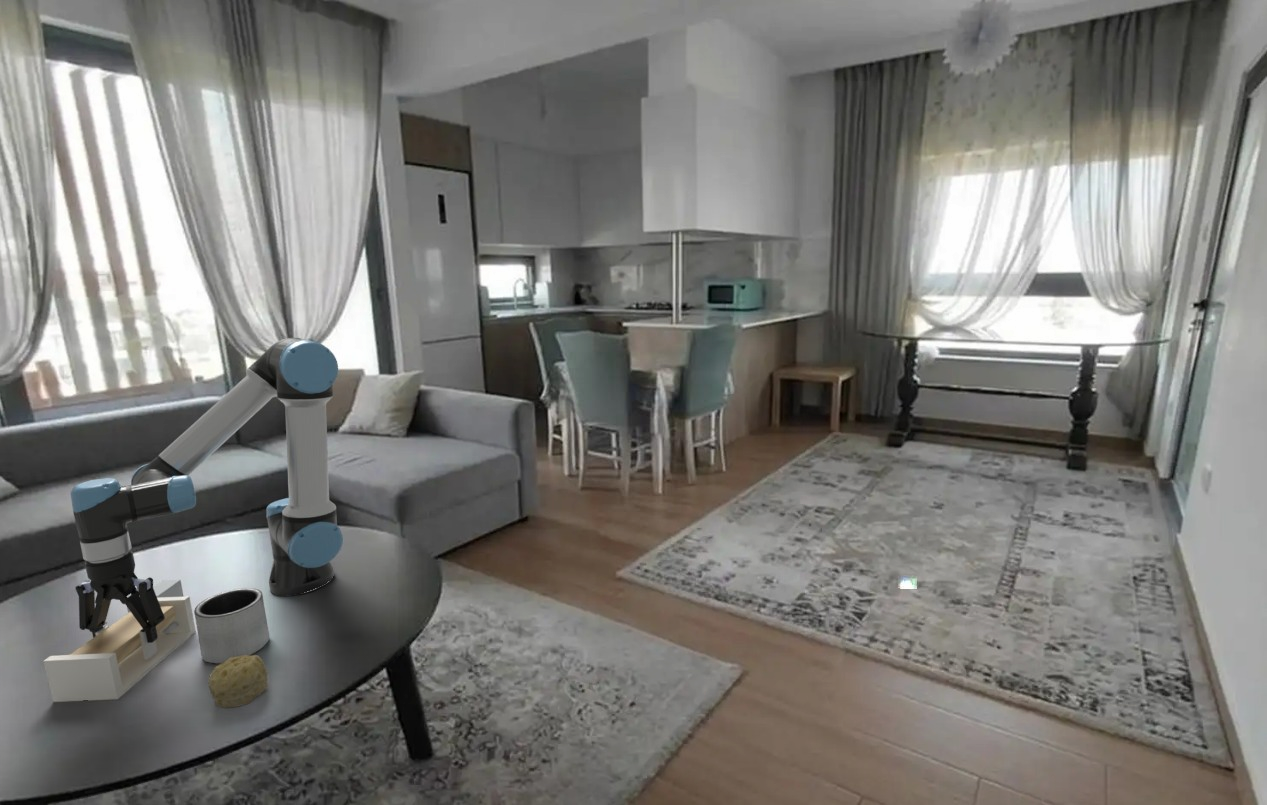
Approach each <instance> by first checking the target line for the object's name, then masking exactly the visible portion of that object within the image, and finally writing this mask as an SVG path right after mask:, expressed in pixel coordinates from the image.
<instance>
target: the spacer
mask: <svg viewBox="0 0 1267 805" xmlns="http://www.w3.org/2000/svg"><path fill="white" fill-rule="evenodd" d="M153 589H154V591H155V594H156V596H157V598H161V597H185V596H184V592H183V586H182V581H181V579H165V580H161V581H159V582H158V583H156V584H155V585H153ZM126 608H127V614H128V613H129V612H131V611H130V610H129V609H128V607H127V606H126Z"/></svg>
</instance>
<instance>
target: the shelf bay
mask: <svg viewBox="0 0 1267 805" xmlns="http://www.w3.org/2000/svg"><path fill="white" fill-rule="evenodd" d="M157 599H158V602H159V604H160V607H163V606H173V607H174V612H175V617H176V619H174V620H173V621H172V622H171V623H169V624H168V625H167V626H165V627H164V628H163V629H162V630H160V631H159V632H158V633H157V635H158V637H157V639H156V640H155V642H156V647H157V652H156V653H155V654H154V655H153V656H152V657H150V658H149V659H144V654H143V649H142V646H140V647H139V648H138V649H137V650H135V651H134V652H133V653H132V654H130V655H129V656H128V657H126V658H125V659H124V660H123V661H121V662H120V663H119V664H118V663H117V658H116V653H103V654H81V655H70V654H64V655H63V654H62V655H49V656H48V657H46V659H44V660H43V665H44V668H45V673H46V678H47V682H48V687H49V690H50V694H51V698H52V699H51V700H52V702H53V703H66V702H81V701H83V700H88V701H105V700H119V699H121V697H122V696H123V695H124V694H125V693H126V692H128V691H129V690H130V689H131V688H133V686H135V685H136V684H137V683H138V682H140V681H141V680H142V679H143V678H144V677H145V676H146V675H148V673H150V672H151V671H152V670H154V668H156V667H157V666H158V665H159V664H160V663H161V662H162V661H164V660H165V659H166V658H167V657H169V655H170V654H172V653H173V652H174V651H175V650H176V649H178V648H179V647H180V646H181V645H182V644H183V643H184V642H185V641H187V640H188V639H189V638H191V637H192V635H193V634H195V633H196V631H197V630H196V626H195V624H196V623H195V621H194V620H195V619H194V614H193V609H192V602H191V597H190V595H189V596H187V595H186V596H184V597H161V598H157ZM83 702H84V701H83Z"/></svg>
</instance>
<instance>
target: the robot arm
mask: <svg viewBox="0 0 1267 805" xmlns="http://www.w3.org/2000/svg"><path fill="white" fill-rule="evenodd" d="M338 375H339V364H338V360H337V357H336V356H335V354H334V353H333V352H332V351H331V350H330V348H328V347H327V346H325V345H324V344H322V343H321V342H318V341H316V340H313V339H304V338H300V337H287V338H283V339H280V340H278V341H276V342H274V344H272V345H271V346H270V347H269V348H268V349H267V350H265V352H264V353H262V354H261V355H260V356H259V357H258V358H257V359H256V360H255V361H254V362H253V363H252V364H251V365H250V366H249V367H248V368H247V369H246V376H244V377H243V379H241V380H240V381H239V382H238V383H237V384H236V385H234V386H233V388H231V389H230V390H229V391H228V392H226V394H225V395H223V397H221V398H220V399H219V400H218V401H217V402H216V403H214V404H213V405H212V406H211V407H210V408H209V409H208V410H206V412H205V413H203V414H202V415H201V416H200V417H199V418H198V419H197V420H196V421H195V422H194V423H193V424H191V425H190V426H189V427H188V428H187V429H186V430H185V431H183V433H182V434H180V435H179V436H178V437H177V438H176V439H175V440H174V441H173V442H171V443H170V444H169V445H168V446H166V448H164V450H163V451H162V452H160V453H159V454H158V455H157V456H156V457H155V458H154V459H152V460H151V461H150V462H149V463H146V464H143V465H142V466H139V467H138V468H137V469H136V470H134V472H133V474H132V476H131V481H130V485H123V486H121V484H120V483H119V480H117V479H116V478H113V477H108V478H107V477H106V478H99V479H91V480H87V481H85V482H84V481H83V482H81V483H78V484H77V485H75V486H73V488H72V489H71V490H70V498H71V499H70V500H71V506H72V513H73V518H74V521H75V525H76V526H75V527H76V530H77V533H78V537H79V543H80V548H81V553H82V558H83V560H84V561H85V563H84V567H85V571H86V575H87V579H86V580H84V581H83V582H81V583H80V584H77V585H76V586H75V591H76V593H77V596H78V613H79V614H78V618H79V619H78V620H79V621H78V622H79V625H78V626H79V629H80V631H81V630H82V631H85V630H89V632H90V633H92V639H93V638H94V637H95V636H97V635H98V634H100V633H101V632H103V631H104V630H105V629H107V628H108V627H110V625H106V624H107V623H108V621H107V622H106V620H107V617H108V614H109V610H110V606H111V602H112V600H116V601H118V600H119V601H120V602H121V604H123V605H125V606H126V608H127V607H128V609H129V610H130V611H131V613H132V614H133V616H134V617H135V618H136V620H137V621H138V623H139V624H140V625H141V627H142V629H141V630H140V631H139V634H140V639H141V644H142V649H143V654H144V659H149V658H150V657H152V656H153V655H154V654H155V653H156V652H157V647H156V642H155V640H156V639H157V637H158V635H157V630H156V626H157V625H158V624H159V623H161V622H162V621H163V620H164V619H165V617H164V614H163V612H162V609H161V607H160V604H159V602H158V599H157V596H156V594H155V591H154V589H153V587H154V579H153V578H152V577H148V578H145V579H144V578H143V579H142V578H138V576H137V575H136V573H135V568H136V562H135V556H134V552H133V551H132V543H131V539H130V533H129V527H128V524H129V523H133V522H137V521H138V522H139V521H143V520H146V519H147V520H148V519H152V518H157V517H161V516H166V515H170V514H178V513H180V512H184V511H187V510H191V509H194V507H195V506H196V505H197V496H196V490H195V486H194V483H193V480H192V478H191V476H190V475H191V474H192V473H193V472H194V471H195V470H197V469H198V468H199V467H200V466H201V465H202V464H203V463H204V462H205V461H206V460H207V459H208V458H209V457H211V456H212V455H213V453H215V452H216V451H217V450H218V449H219V448H220V447H221V446H223V445H224V443H225V442H227V441H228V440H229V439H230V438H232V436H233V435H234V434H235V433H236V432H237V431H239V429H241V428H242V427H243V426H244V425H245V424H246V423H247V422H248V421H249V420H250V419H251V418H253V416H255V415H256V413H258V412H259V411H260V410H261V409H262V408H264V406H266V404H267V403H269V402H270V401H271V399H273V398H276V399H277V400H279V401H280V402H281V403H283V405H284V408H285V431H286V434H285V435H286V436H285V439H286V459H287V461H286V462H287V485H288V486H287V487H288V497H286V498H282V499H278V500H275V501H273V502H271V503H269V504H268V505H267V507H266V516H265V517H266V518H265V519H267V525H268V531H269V538H270V539H269V540H270V545H271V552H272V559H273V561H272V566H271V571H270V573H269V574H270V575H269V579H268V587H269V591H270V592H271V593H272V594H274V595H276V596H281V595H284V596H286V595H291V596H296V595H295V594H299V595H302V594H301V593H304V592H307V591H310V590H313V589H315V588H318V587H320V586H322V585H324V584H326V583H327V582H328V581H330V580H331V579H332V577H333V576H334V577H335V570H334V566H333V564H332V561H333V560H334V559H335V557H336V556H338V554H339V553H340V551H341V549H342V547H343V544H344V536H343V533H342V530H341V528H340V527H339V526H338V522H337V518H338V517H337V506H336V504H335V503H334V502H332V501H331V500H330V487H329V457H328V456H329V454H328V429H327V428H328V426H327V425H328V424H327V423H328V420H327V403H329V401H330V400H331V399H333V397H334V395H333V394H334V393H333V384H334V383H335V381H336V380H337V377H338ZM332 580H333V579H332ZM332 580H331V581H332ZM331 581H330V582H331ZM326 585H327V584H326ZM95 592H96V593H95ZM95 594H96V596H95ZM304 594H305V593H304ZM128 609H127V610H128ZM147 621H148V622H147Z"/></svg>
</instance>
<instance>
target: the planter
mask: <svg viewBox="0 0 1267 805" xmlns="http://www.w3.org/2000/svg"><path fill="white" fill-rule="evenodd" d="M194 617H195V619H194V620H195V624H196V629H197V630H196V631H197V637H198V643H199V650H200V655H201V657H202V658H201V659H203V660H204V661H205V662H206V663H207V662H208V663H211V664H218V665H219V664H221V663H223V662H225V661H226V660H228V659H229V658H231V657H238V656H242V655H249V656H252V655H255V654H256V653H257V652H259V651H260V650H261V649H263V648H264V646H265V645H266V644H267V643H268V641H269V640H270V630H269V626H268V619H267V614H266V607H265V604H264V594H263V592H262V591H261V590H260V589H258V588H253V587H241V588H234V589H230V590H226V591H221V592H219V593H217V594H214V595H212V596H210V597H208V598H206V599H204V600H202V601H201V602H200V603H199V604H197V605H196V607H194Z"/></svg>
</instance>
